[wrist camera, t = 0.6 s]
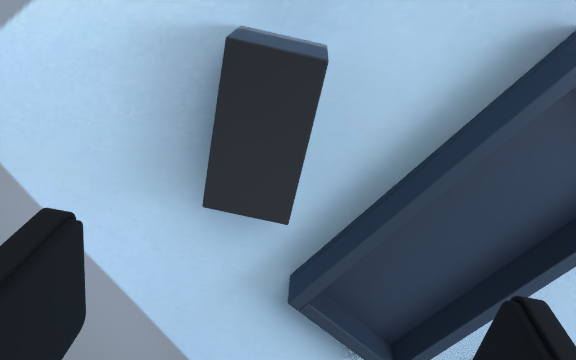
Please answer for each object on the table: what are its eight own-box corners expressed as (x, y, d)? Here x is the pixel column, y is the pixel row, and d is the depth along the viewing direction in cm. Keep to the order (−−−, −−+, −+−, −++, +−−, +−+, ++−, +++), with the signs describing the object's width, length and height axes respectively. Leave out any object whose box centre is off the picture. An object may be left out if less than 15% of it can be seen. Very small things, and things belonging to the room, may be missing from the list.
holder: (289, 275, 27) (287, 303, 25) (582, 25, 20) (615, 33, 18) (389, 350, 29) (394, 382, 27) (683, 150, 22) (725, 171, 20)
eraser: (217, 174, 24) (201, 207, 21) (240, 25, 21) (225, 36, 17) (292, 191, 24) (288, 225, 21) (327, 45, 21) (329, 59, 18)
